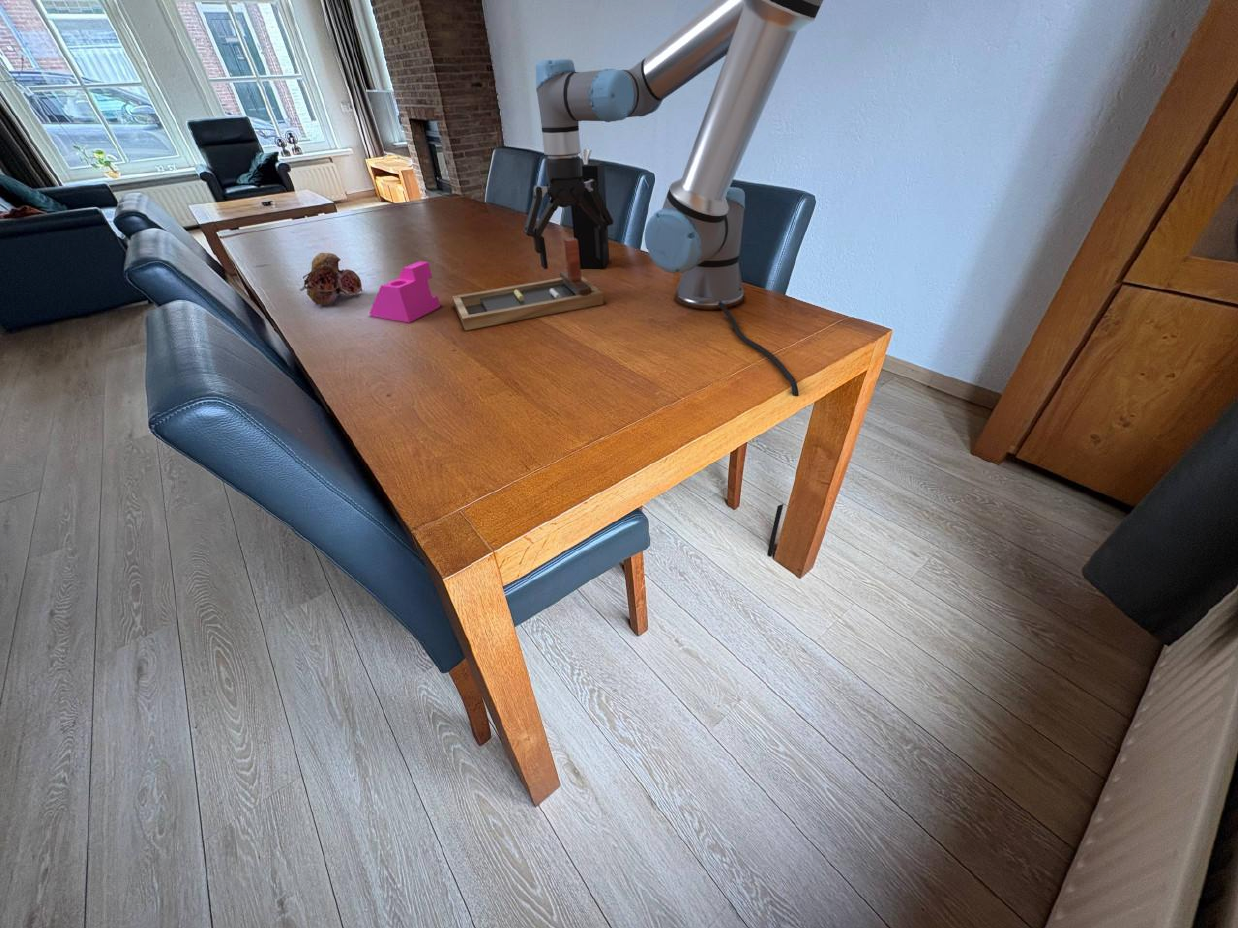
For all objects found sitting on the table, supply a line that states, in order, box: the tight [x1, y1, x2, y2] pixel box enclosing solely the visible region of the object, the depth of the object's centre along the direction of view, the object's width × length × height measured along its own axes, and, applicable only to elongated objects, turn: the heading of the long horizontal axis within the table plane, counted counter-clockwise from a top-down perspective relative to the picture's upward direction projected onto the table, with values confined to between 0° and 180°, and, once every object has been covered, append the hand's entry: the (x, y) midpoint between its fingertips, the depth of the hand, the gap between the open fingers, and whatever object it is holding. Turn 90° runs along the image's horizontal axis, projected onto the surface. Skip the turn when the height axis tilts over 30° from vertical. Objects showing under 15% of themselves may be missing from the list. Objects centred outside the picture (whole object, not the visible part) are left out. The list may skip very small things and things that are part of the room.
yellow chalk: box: [514, 290, 524, 301], centre depth 115 cm, size 5×1×1 cm
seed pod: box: [299, 252, 364, 306], centre depth 122 cm, size 13×16×15 cm
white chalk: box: [550, 288, 561, 299], centre depth 115 cm, size 5×1×1 cm
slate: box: [451, 275, 604, 331], centre depth 115 cm, size 16×32×3 cm, turn 113°
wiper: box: [559, 236, 591, 295], centre depth 115 cm, size 15×3×11 cm, turn 23°
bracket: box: [369, 261, 441, 324], centre depth 113 cm, size 12×10×10 cm
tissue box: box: [570, 148, 610, 269], centre depth 131 cm, size 8×8×28 cm
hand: (572, 263), depth 115 cm, fingers open, 13 cm apart
